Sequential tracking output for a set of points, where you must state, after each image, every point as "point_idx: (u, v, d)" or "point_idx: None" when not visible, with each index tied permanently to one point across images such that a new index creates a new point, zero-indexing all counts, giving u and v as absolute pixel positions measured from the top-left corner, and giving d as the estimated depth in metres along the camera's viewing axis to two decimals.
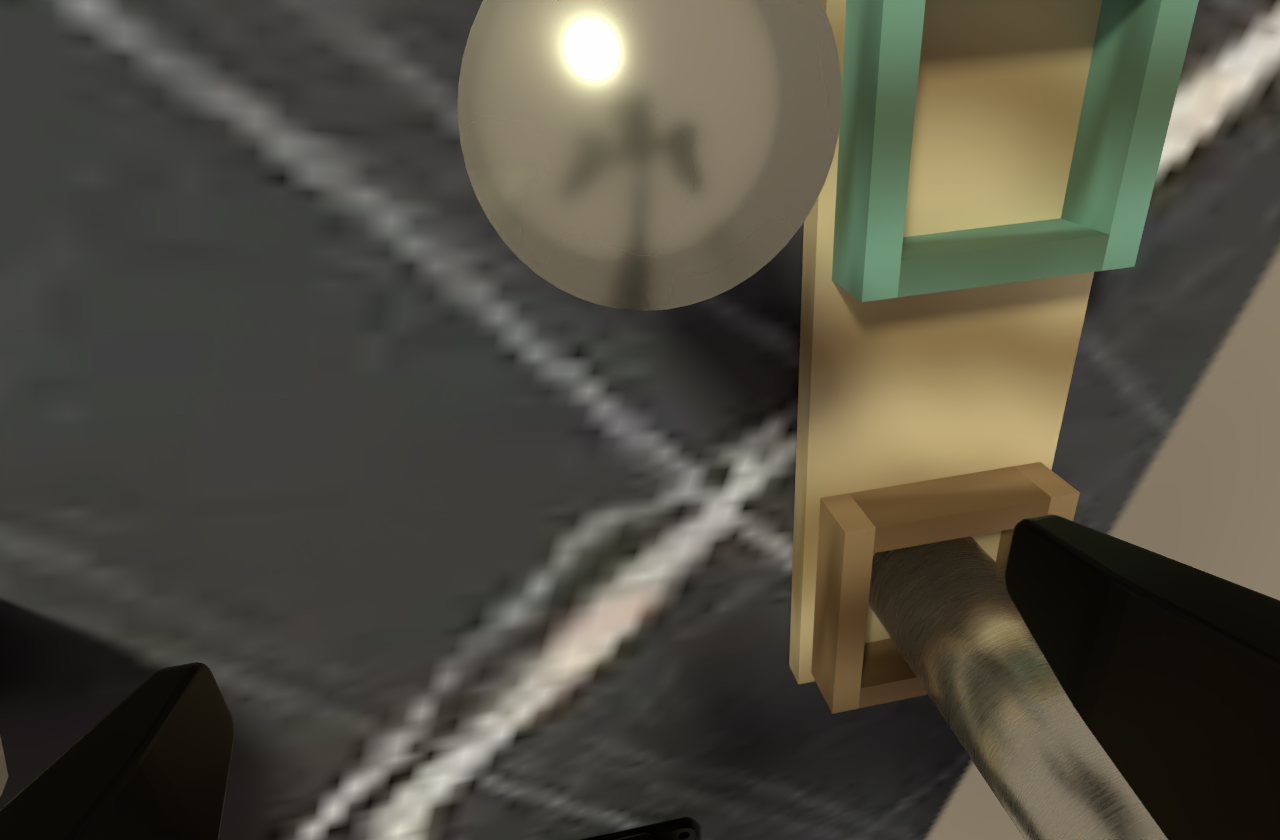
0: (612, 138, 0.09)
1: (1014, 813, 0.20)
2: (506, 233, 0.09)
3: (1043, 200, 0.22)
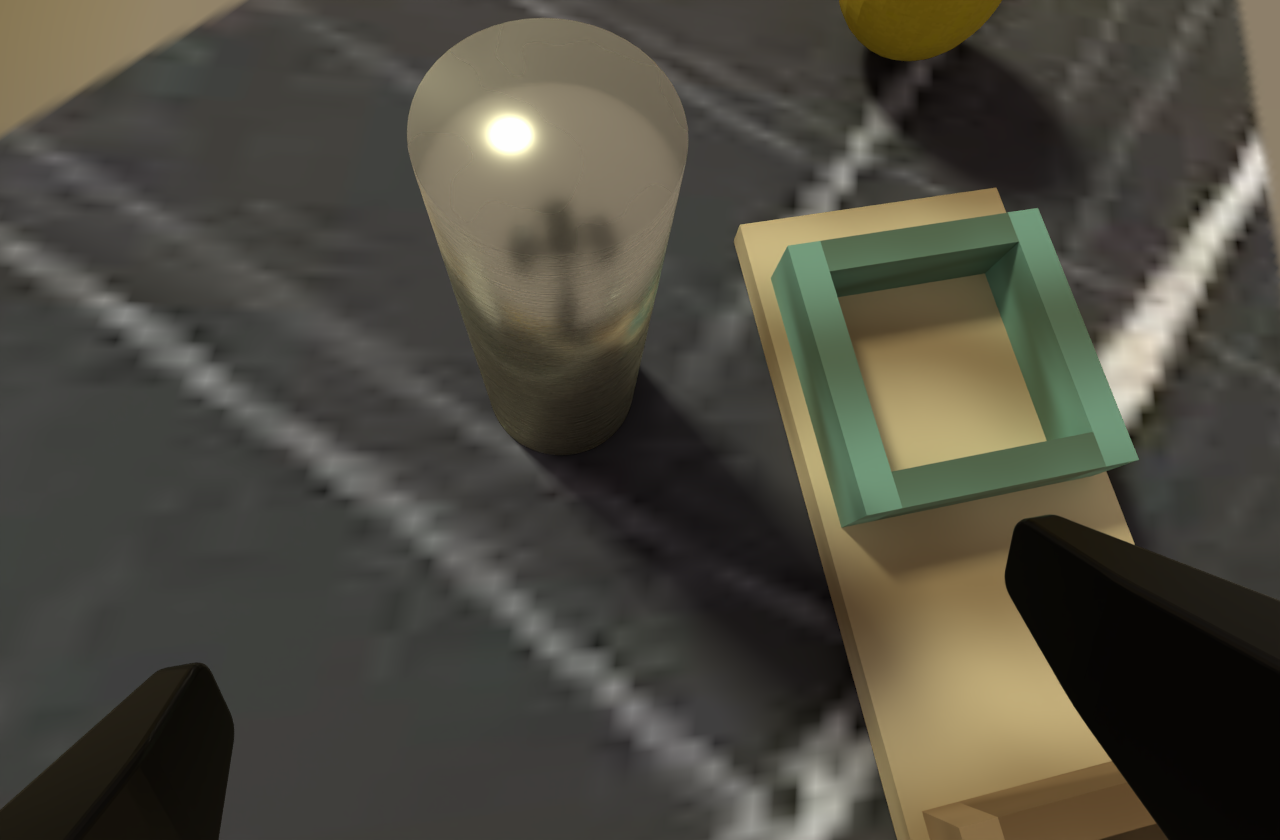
0: (517, 140, 0.12)
1: None
2: (439, 201, 0.12)
3: (1023, 436, 0.23)
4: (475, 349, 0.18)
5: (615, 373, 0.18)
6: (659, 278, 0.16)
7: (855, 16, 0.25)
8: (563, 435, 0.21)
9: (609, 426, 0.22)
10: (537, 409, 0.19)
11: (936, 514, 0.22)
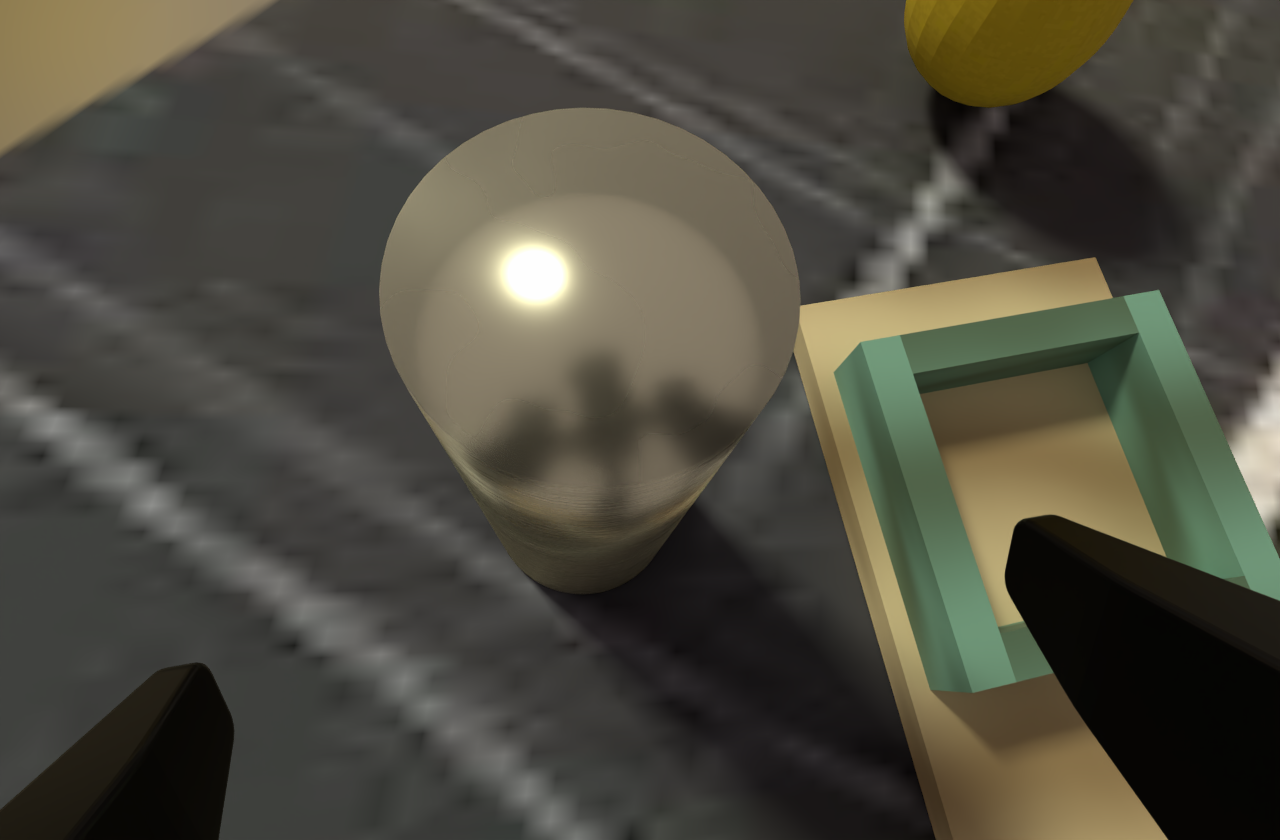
0: (547, 298, 0.08)
1: None
2: (428, 402, 0.07)
3: None
4: None
5: (662, 538, 0.14)
6: None
7: (929, 56, 0.21)
8: (589, 585, 0.17)
9: (644, 566, 0.18)
10: (558, 572, 0.15)
11: None
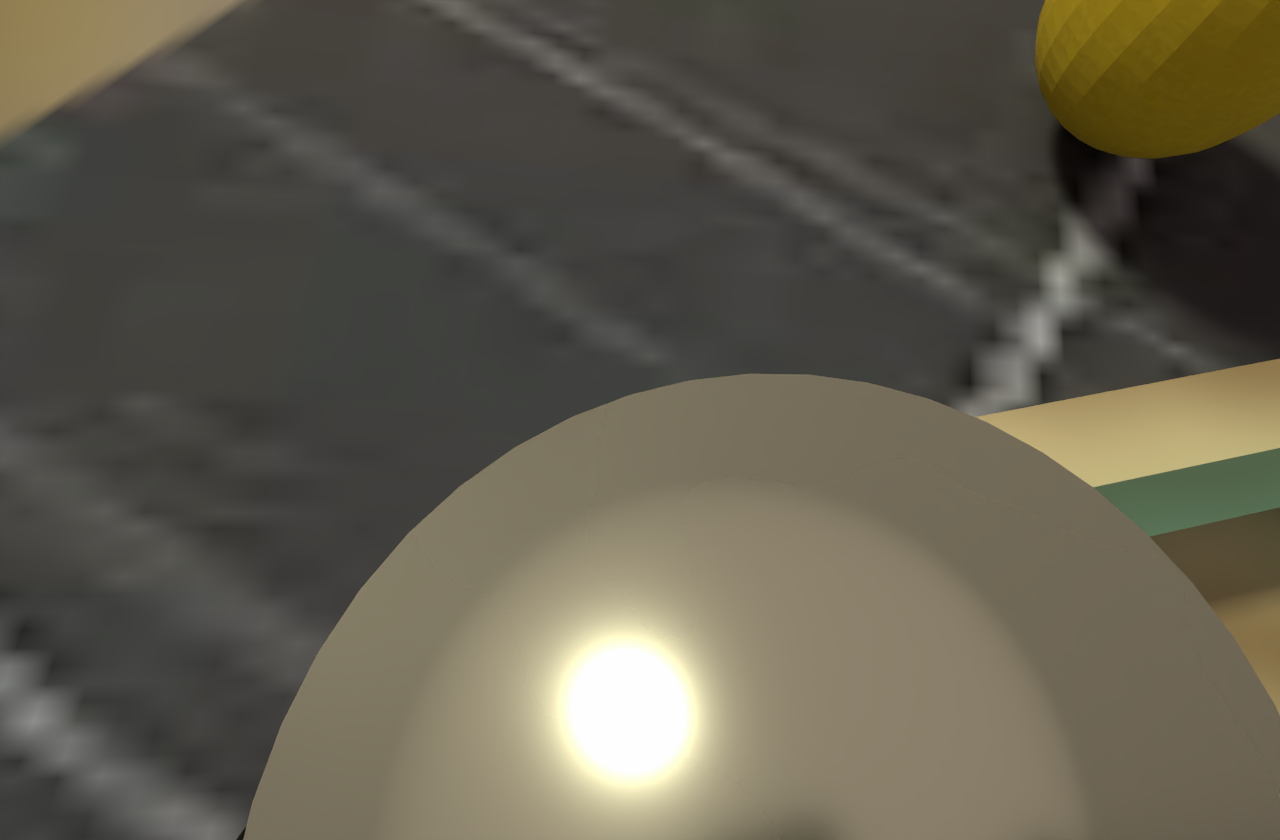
0: None
1: None
2: None
3: None
4: None
5: None
6: None
7: (1077, 95, 0.16)
8: None
9: None
10: None
11: None
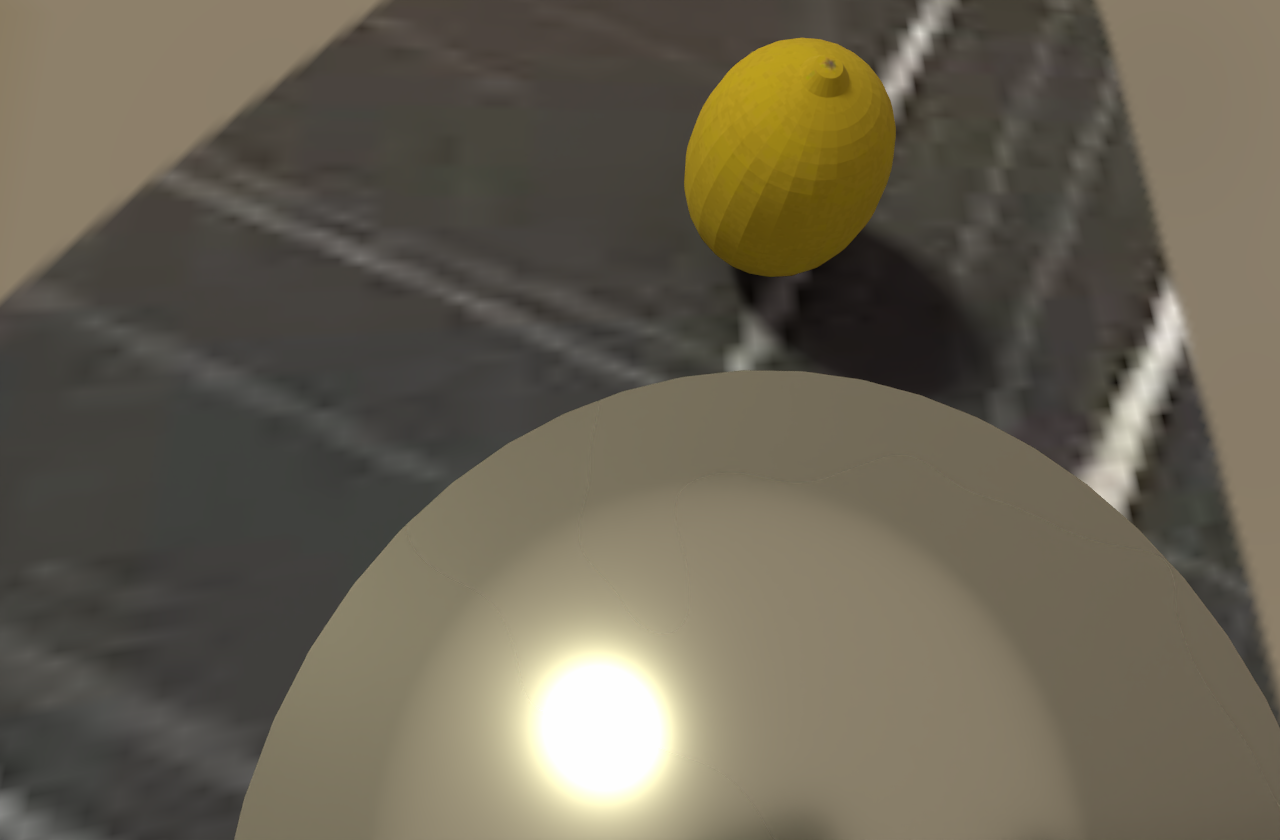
0: None
1: None
2: None
3: None
4: None
5: None
6: None
7: (711, 245, 0.22)
8: None
9: None
10: None
11: None
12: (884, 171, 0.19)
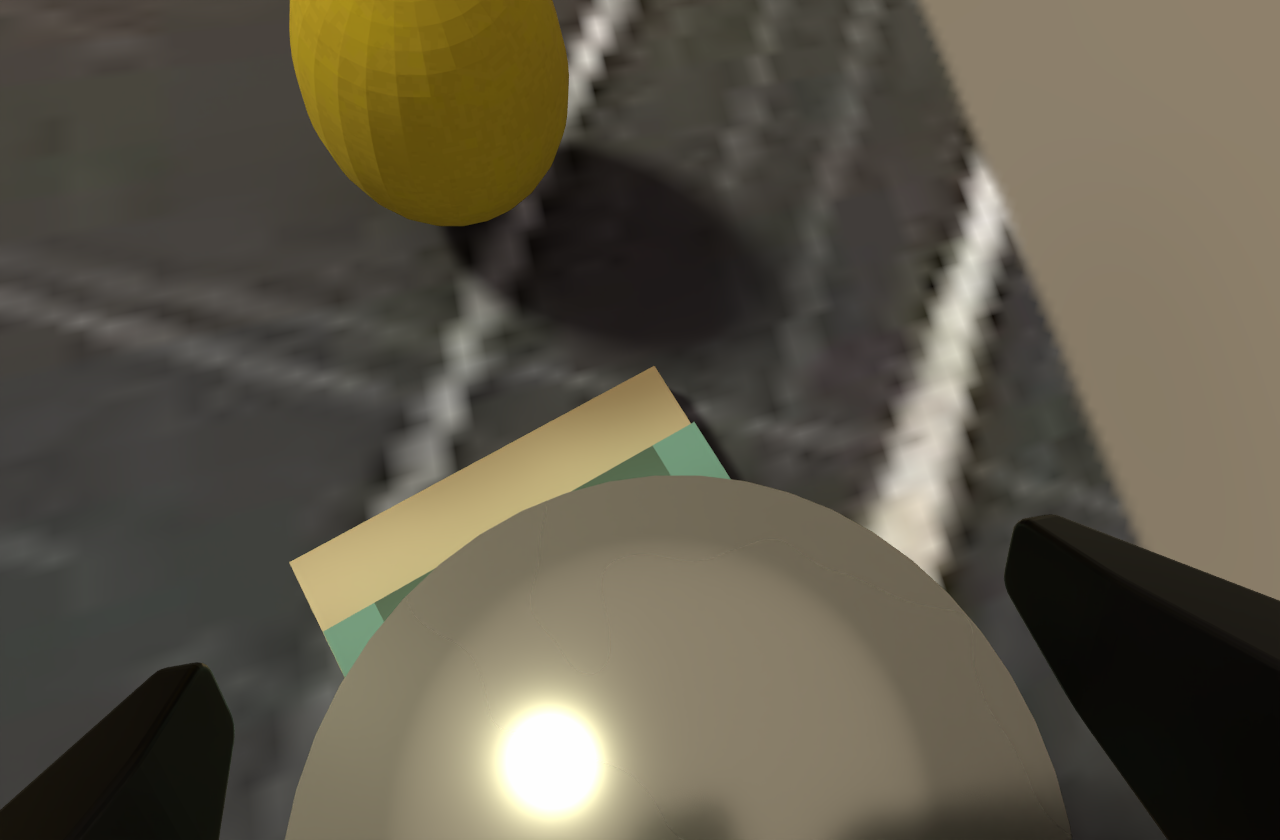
0: None
1: None
2: None
3: None
4: None
5: None
6: None
7: (369, 195, 0.17)
8: None
9: None
10: None
11: None
12: (537, 53, 0.14)
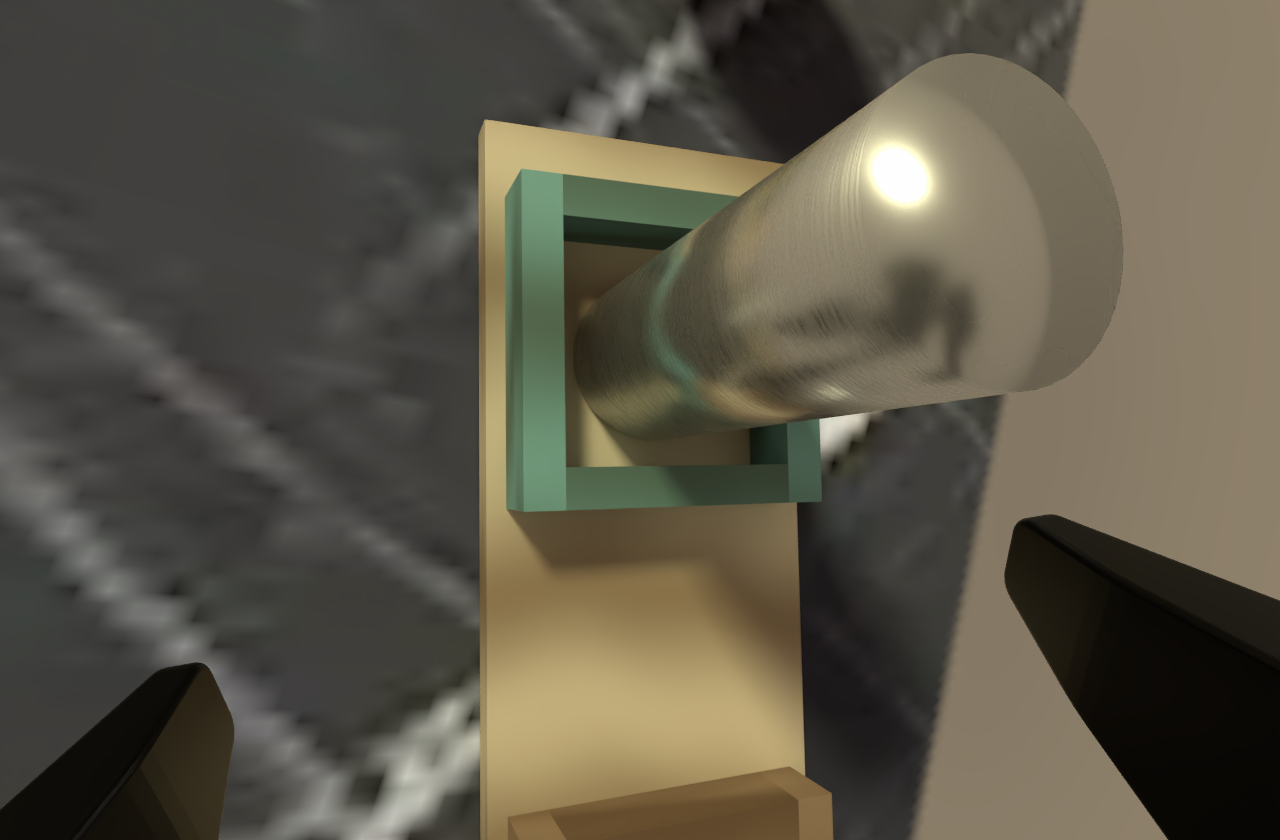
0: (970, 211, 0.10)
1: None
2: (870, 232, 0.09)
3: (728, 444, 0.22)
4: (655, 315, 0.15)
5: None
6: None
7: None
8: (647, 425, 0.18)
9: None
10: (661, 402, 0.16)
11: (614, 512, 0.20)
12: None
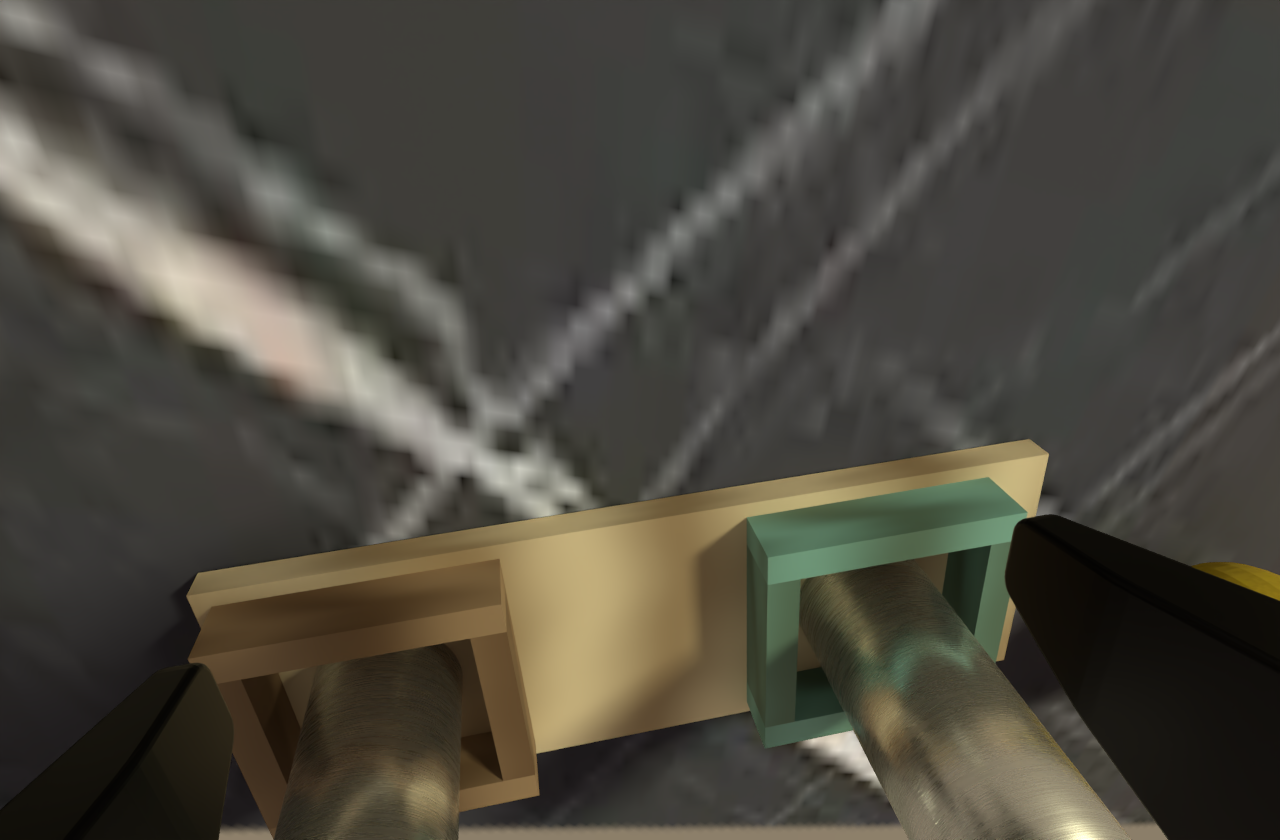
0: None
1: None
2: None
3: None
4: (955, 677, 0.20)
5: (871, 760, 0.21)
6: None
7: None
8: (830, 628, 0.23)
9: (811, 644, 0.24)
10: (873, 665, 0.21)
11: (741, 591, 0.25)
12: None
